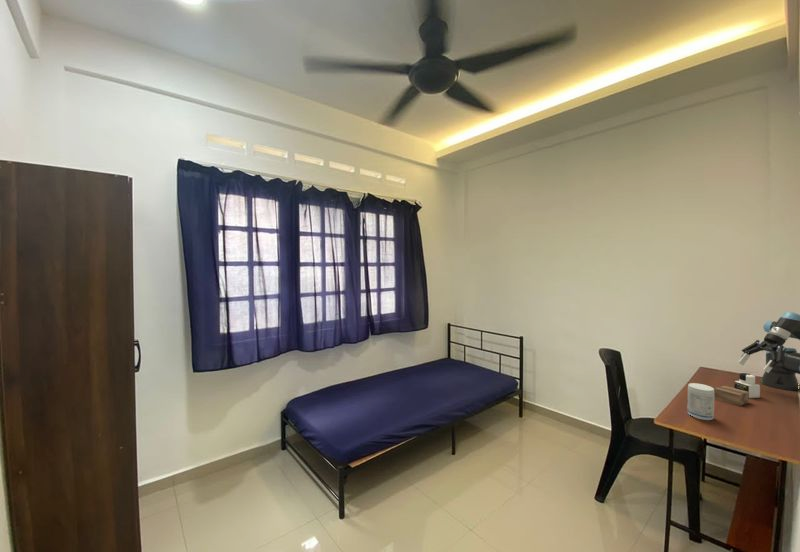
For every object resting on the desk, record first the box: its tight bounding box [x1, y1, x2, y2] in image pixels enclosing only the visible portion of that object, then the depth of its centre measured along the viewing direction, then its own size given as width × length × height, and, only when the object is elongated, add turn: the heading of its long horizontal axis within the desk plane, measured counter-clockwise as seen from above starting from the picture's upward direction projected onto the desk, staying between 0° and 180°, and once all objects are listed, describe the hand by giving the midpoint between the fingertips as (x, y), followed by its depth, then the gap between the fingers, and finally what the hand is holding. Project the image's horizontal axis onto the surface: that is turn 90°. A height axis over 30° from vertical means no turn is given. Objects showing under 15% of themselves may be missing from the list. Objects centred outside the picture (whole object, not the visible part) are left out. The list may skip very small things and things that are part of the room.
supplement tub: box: [686, 382, 715, 421], centre depth 157 cm, size 10×10×15 cm
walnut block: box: [714, 385, 750, 407], centre depth 175 cm, size 10×10×6 cm
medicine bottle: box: [733, 372, 761, 399], centre depth 181 cm, size 7×7×12 cm
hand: (752, 367), depth 183 cm, fingers open, 13 cm apart
